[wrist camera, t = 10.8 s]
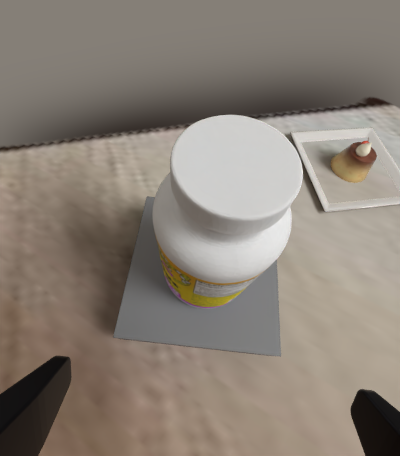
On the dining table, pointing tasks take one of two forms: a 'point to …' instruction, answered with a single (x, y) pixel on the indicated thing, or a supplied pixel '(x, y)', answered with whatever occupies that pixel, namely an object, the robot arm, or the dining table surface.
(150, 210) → the block
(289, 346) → the dining table surface
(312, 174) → the dessert
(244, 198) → the supplement bottle
